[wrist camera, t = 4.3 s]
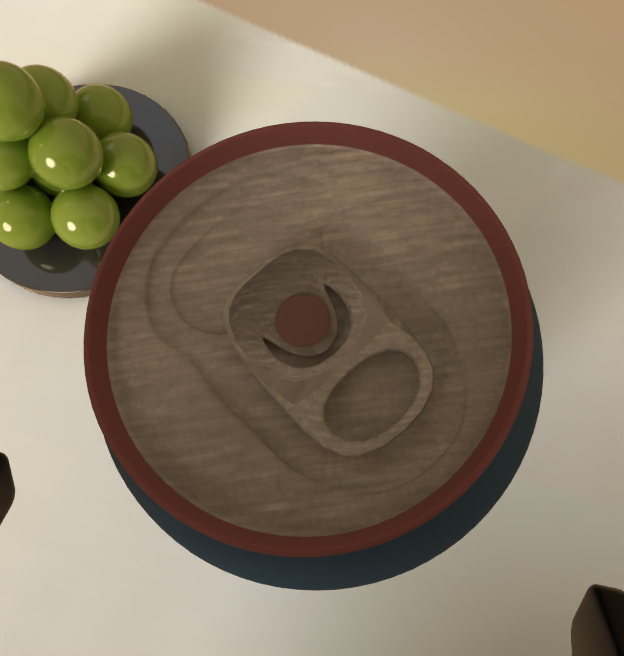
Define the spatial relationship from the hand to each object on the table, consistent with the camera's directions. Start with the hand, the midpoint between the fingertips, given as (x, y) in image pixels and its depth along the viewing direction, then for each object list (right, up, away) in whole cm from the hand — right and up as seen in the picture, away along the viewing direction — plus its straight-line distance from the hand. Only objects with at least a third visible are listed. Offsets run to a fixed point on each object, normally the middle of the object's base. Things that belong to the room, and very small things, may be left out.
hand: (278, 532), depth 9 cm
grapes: (-8, +8, +13) cm, 17 cm away
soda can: (+1, 0, +10) cm, 10 cm away
